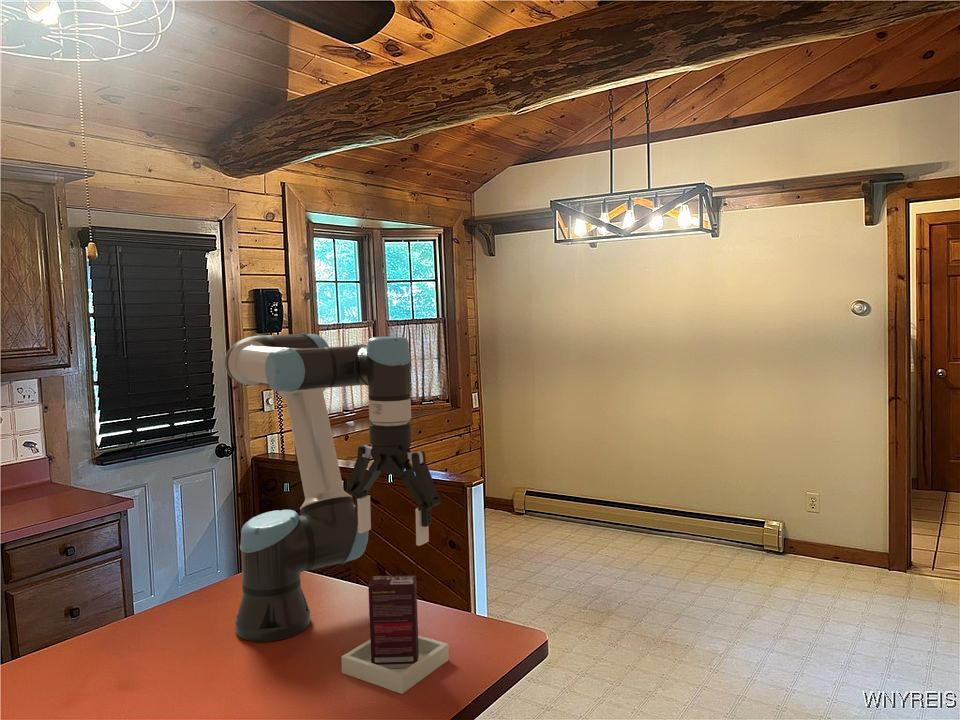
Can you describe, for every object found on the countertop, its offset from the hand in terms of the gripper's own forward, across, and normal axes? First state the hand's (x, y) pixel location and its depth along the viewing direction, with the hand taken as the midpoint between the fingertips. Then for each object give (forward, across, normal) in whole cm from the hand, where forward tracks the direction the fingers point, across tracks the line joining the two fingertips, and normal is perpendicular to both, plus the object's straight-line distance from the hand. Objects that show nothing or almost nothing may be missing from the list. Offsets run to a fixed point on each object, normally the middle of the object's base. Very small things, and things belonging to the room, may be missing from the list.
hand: (392, 537), depth 132 cm
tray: (+24, 0, 0) cm, 24 cm away
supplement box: (+24, 0, 0) cm, 24 cm away
